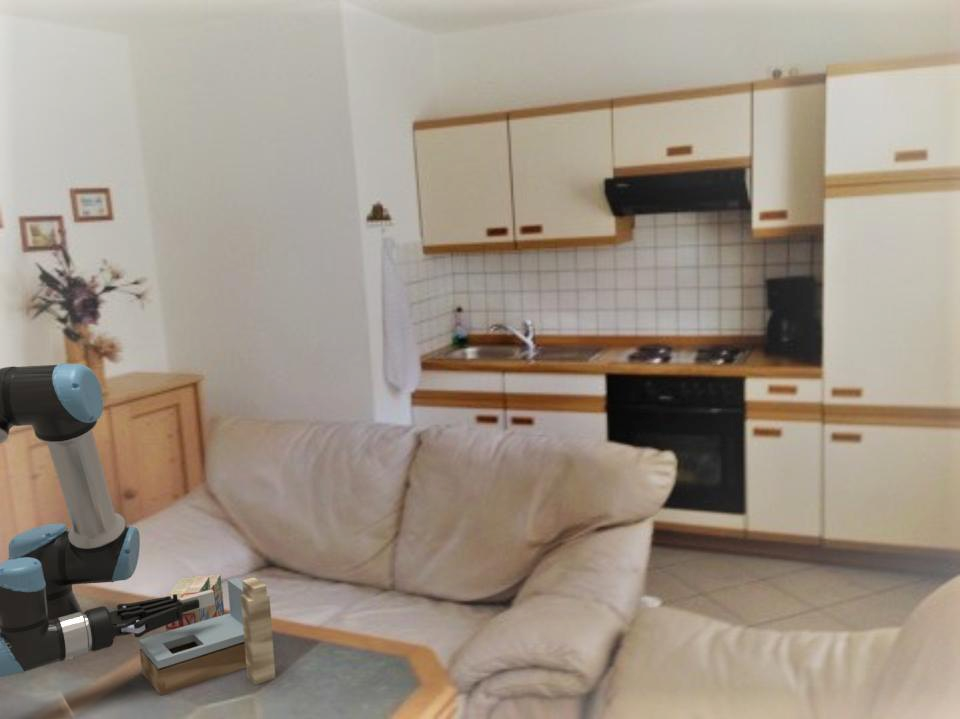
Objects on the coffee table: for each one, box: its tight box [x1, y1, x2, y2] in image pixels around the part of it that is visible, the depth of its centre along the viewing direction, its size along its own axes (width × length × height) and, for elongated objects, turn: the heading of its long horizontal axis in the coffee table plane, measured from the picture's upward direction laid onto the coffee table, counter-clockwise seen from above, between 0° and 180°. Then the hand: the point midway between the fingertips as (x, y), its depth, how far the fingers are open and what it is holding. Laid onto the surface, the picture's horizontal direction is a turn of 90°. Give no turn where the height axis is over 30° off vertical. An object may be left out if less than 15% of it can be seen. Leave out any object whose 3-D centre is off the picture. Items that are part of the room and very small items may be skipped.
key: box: [241, 577, 276, 685], centre depth 160 cm, size 6×4×20 cm
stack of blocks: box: [165, 574, 225, 632], centre depth 183 cm, size 21×6×12 cm, turn 3°
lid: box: [138, 577, 244, 669], centre depth 165 cm, size 12×20×9 cm, turn 128°
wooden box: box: [139, 642, 246, 697], centre depth 166 cm, size 12×20×6 cm, turn 128°
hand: (212, 596), depth 169 cm, fingers closed
